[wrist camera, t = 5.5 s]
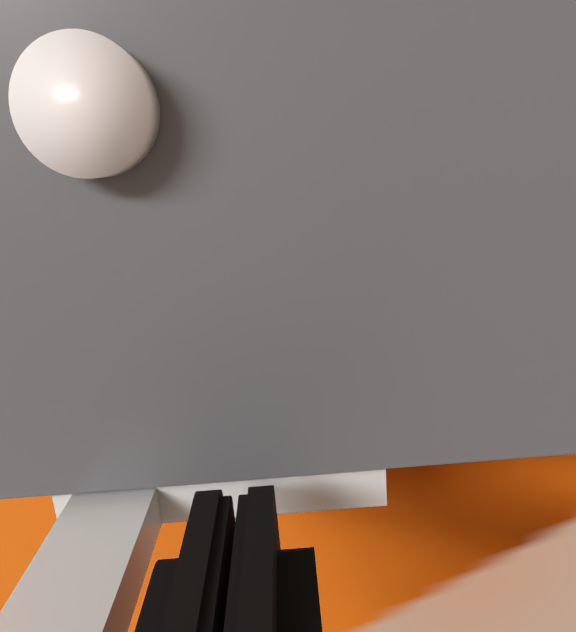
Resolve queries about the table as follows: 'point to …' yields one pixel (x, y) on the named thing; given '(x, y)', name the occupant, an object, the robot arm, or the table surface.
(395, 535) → the table surface
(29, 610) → the hatch
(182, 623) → the robot arm
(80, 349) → the housing
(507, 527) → the table surface
